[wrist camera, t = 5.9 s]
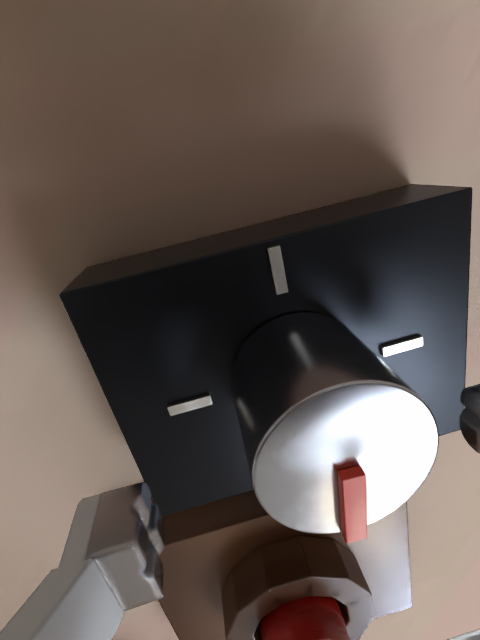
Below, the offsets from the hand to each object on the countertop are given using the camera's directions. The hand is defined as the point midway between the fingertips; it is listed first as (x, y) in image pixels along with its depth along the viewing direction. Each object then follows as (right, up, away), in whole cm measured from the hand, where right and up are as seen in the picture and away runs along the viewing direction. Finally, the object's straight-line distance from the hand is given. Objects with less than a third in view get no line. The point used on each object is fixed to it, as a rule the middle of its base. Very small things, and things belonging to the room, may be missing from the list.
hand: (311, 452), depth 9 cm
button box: (0, -9, +10) cm, 13 cm away
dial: (0, +2, +3) cm, 3 cm away
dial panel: (0, +3, +6) cm, 6 cm away
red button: (+1, -10, +7) cm, 12 cm away
